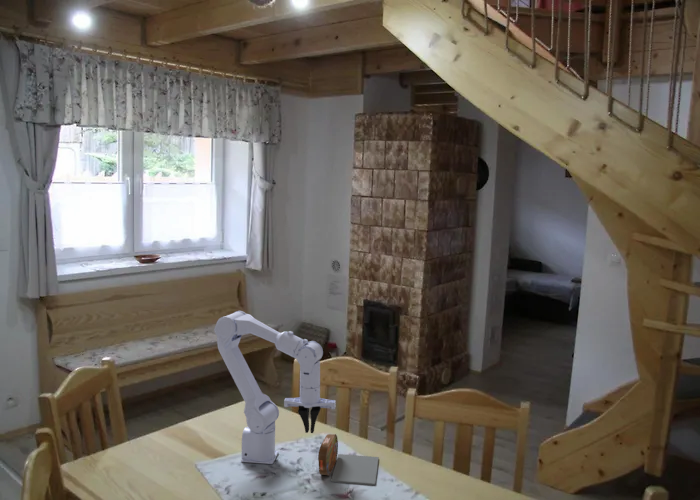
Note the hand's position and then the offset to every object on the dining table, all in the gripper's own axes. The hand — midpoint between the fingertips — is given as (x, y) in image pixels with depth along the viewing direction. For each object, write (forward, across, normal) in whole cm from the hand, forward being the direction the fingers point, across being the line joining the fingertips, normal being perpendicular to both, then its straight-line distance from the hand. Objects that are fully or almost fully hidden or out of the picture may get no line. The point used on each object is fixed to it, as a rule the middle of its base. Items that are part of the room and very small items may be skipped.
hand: (309, 431), depth 171 cm
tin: (+11, +5, 0) cm, 12 cm away
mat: (+11, +13, 0) cm, 17 cm away
